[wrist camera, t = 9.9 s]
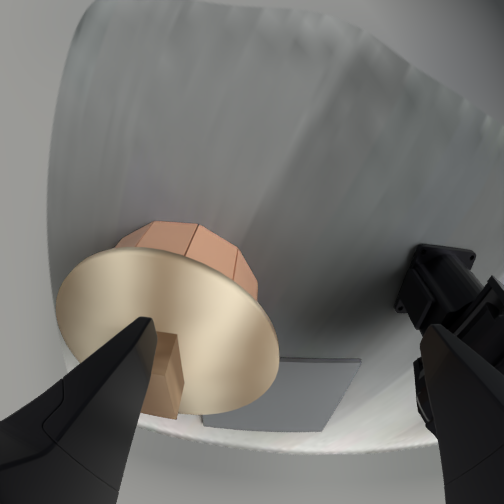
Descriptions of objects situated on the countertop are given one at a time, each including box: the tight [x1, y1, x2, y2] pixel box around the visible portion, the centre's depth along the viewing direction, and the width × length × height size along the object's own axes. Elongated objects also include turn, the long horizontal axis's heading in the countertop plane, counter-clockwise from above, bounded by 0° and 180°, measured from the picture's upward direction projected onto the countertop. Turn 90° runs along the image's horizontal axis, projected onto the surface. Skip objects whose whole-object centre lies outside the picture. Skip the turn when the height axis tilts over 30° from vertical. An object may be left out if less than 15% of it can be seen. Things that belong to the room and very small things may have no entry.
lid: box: [56, 247, 279, 420], centre depth 16 cm, size 15×15×4 cm
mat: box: [202, 358, 362, 432], centre depth 30 cm, size 16×16×1 cm
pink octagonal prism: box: [115, 221, 258, 301], centre depth 20 cm, size 12×12×6 cm
